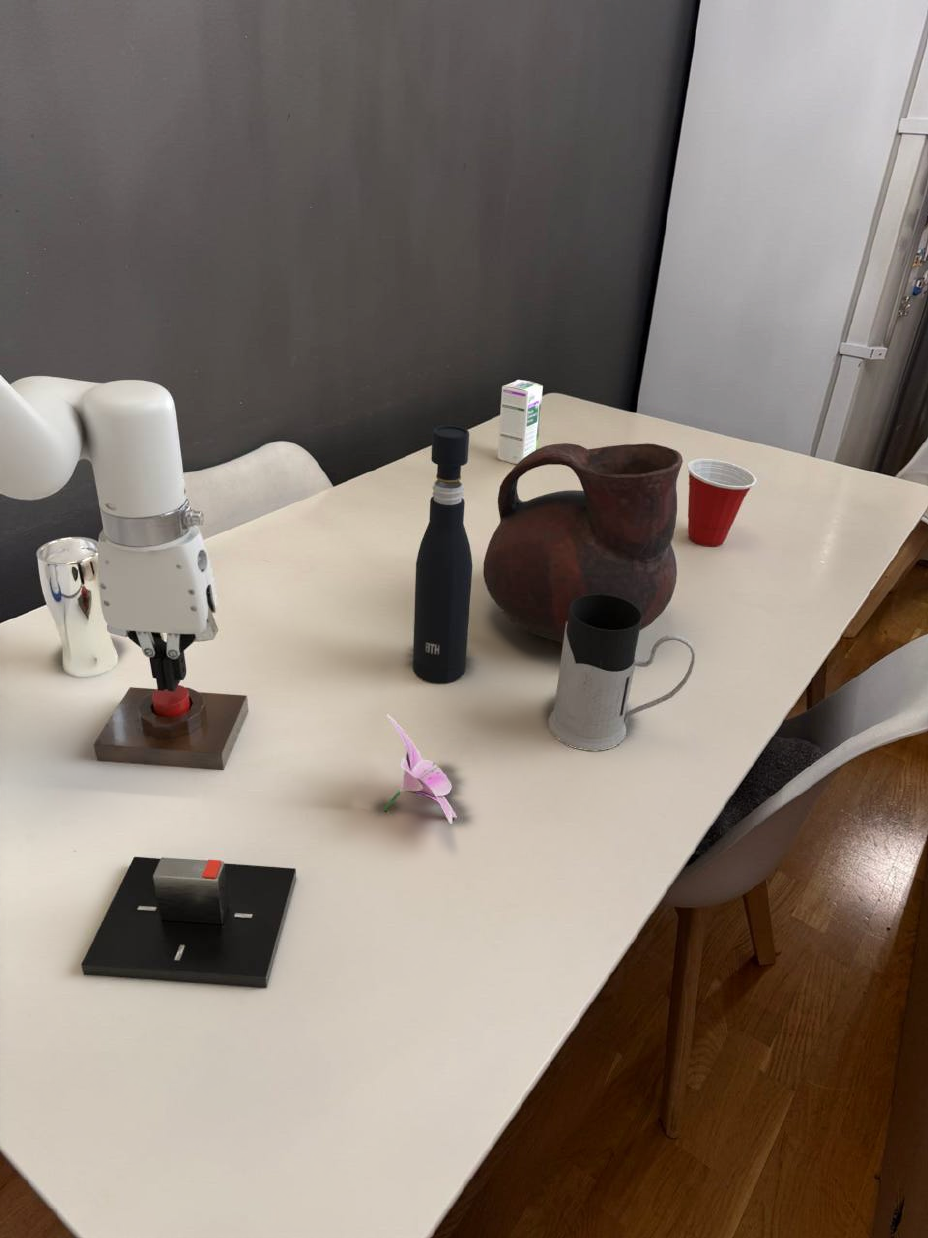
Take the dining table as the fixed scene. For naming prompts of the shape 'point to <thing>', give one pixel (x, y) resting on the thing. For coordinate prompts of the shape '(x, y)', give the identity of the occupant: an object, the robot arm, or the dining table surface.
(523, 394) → the syrup box
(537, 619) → the jug
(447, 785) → the lily
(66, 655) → the beer glass
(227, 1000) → the dining table surface
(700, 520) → the plastic cup
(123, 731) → the switch block
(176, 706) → the power button
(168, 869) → the hob knob
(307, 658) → the dining table surface
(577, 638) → the glass holder
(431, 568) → the black insulated flask
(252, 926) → the panel
